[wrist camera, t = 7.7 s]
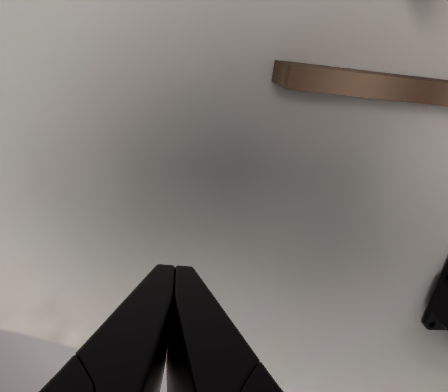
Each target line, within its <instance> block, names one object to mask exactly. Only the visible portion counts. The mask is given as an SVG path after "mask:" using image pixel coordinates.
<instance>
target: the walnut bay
mask: <svg viewBox="0 0 448 392" xmlns="http://www.w3.org/2000/svg"><path fill="white" fill-rule="evenodd" d="M272 81H273V82H274V83H276V84H278V85H280V86H282V87H283V88H285V89H289V90H298V91H308V92H317V93H327V94H336V95H345V96H355V97H364V98H374V99H383V100H393V101H402V102H412V103H421V104H430V105H440V106H448V80H441V79H433V78H424V77H415V76H407V75H398V74H390V73H381V72H372V71H364V70H355V69H347V68H338V67H329V66H321V65H312V64H304V63H295V62H286V61H278V60H275V63H274V69H273V75H272Z"/></svg>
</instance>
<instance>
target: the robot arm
mask: <svg viewBox="0 0 448 392" xmlns="http://www.w3.org/2000/svg"><path fill="white" fill-rule="evenodd" d="M422 323H423V325H424V326H425V327H426V328H427V329H429V330H447V331H448V262H447V264H446V266H445V269H444V271H443V273H442V276H441V278H440V280H439V283H438V285H437V287H436V290H435V292H434V294H433V297H432V299H431V301H430V304H429V306H428V308H427V311H426V313H425V315H424V318H423V320H422ZM167 345H168V346H167ZM166 354H167V361H166ZM165 363H166V368H167V392H283V391H282V389H281V388H280V387H279V386H278V384H277V383H276V382H275V380H274V379H273V378H272V376H271V375H270V374H269V372H268V371H267V369H266V368H265V367H264V365H263V364H262V363H261V362H260V360H259V359H258V357H257V356H256V354H255V353H254V352H253V350H252V349H251V347H250V346H249V345H248V343H247V342H246V340H245V339H244V338H243V336H242V335H241V333H240V332H239V331H238V329H237V328H236V327H235V325H234V324H233V322H232V321H231V320H230V318H229V317H228V315H227V314H226V313H225V311H224V310H223V308H222V307H221V306H220V304H219V303H218V301H217V300H216V299H215V297H214V296H213V294H212V293H211V292H210V290H209V289H208V288H207V286H206V285H205V283H204V282H203V281H202V279H201V278H200V276H199V275H198V274H197V272H196V271H195V269H194V268H193V267H191V266H176V267H174V266H173V265H163V264H158V265H156V266H155V267H154V269H153V270H152V271H151V272H150V273H149V274H148V275H147V276H146V277H145V278H144V279H143V280H142V282H141V283H140V284H139V285H138V286H137V287H136V288H135V289H134V290H133V291H132V292H131V294H130V295H129V296H128V297H127V298H126V299H125V300H124V301H123V302H122V303H121V304H120V306H119V307H118V308H117V309H116V310H115V311H114V312H113V313H112V314H111V315H110V316H109V317H108V319H107V320H106V321H105V322H104V323H103V324H102V325H101V326H100V327H99V328H98V329H97V331H96V332H95V333H94V334H93V335H92V336H91V337H90V338H89V339H88V340H87V341H86V343H85V344H84V345H83V346H82V347H81V348H80V349H79V350H78V351H77V352H76V355H75V356H72V357H71V359H70V360H69V361H68V362H67V363H66V364H65V365H64V366H63V367H62V368H61V370H60V371H59V372H58V373H57V374H56V375H55V376H54V377H53V378H52V379H51V380H50V381H49V382H48V383H47V384H46V385H45V386H44V387H43V388H42V389H41V390H40V391H39V392H160V388H161V383H162V378H163V374H164V368H165Z"/></svg>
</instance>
